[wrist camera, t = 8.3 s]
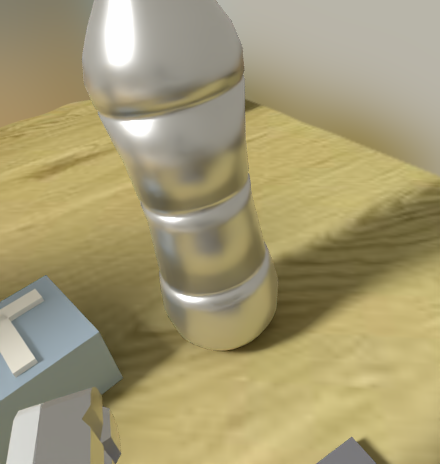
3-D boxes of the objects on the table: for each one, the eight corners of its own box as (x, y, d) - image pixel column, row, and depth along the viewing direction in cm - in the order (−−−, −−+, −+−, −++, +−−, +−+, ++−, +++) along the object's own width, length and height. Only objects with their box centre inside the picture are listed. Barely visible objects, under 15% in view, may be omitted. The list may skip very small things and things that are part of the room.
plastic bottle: (166, 371, 23) (-26, -87, 11) (183, 285, 28) (64, -83, 17) (287, 363, 22) (208, -149, 10) (280, 275, 27) (224, -123, 16)
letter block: (-1, 479, 20) (-51, 430, 17) (-37, 391, 25) (-80, 343, 22) (124, 380, 23) (97, 327, 21) (71, 320, 28) (43, 271, 25)
